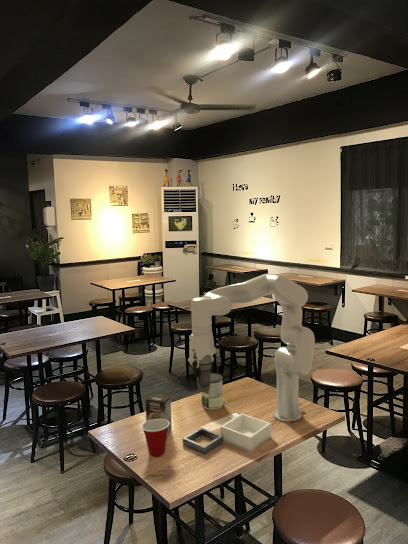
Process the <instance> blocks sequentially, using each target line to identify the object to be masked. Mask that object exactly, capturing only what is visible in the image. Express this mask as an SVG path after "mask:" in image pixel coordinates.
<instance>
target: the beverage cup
mask: <svg viewBox="0 0 408 544" xmlns="http://www.w3.org/2000/svg"><path fill="white" fill-rule="evenodd" d="M196 359H197V357H196ZM196 364H197V361H196ZM211 365H212V359H211V356H210V355H206V356H205V357H204V358H203V359H202V360H200V365H199V367H200V375H201V377H200V378H198V377H195V378H196V385H197V386H196V387H197V391H198V393H202V392H208V391H209V390H210V375H211V373H212V372H211Z"/></svg>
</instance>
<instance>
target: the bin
mask: <svg viewBox="0 0 408 544" xmlns="http://www.w3.org/2000/svg"><path fill="white" fill-rule="evenodd" d="M220 435H222V436H223V443H226V444H229V445H231V446H234V447H237V448H239V449H240V450H244V451H246V452H249V453H252V452H253V451H255V450H256V449H257V448H258V447H260V446H262V445H263V444H264V443H266V442H267V441H268V440H270V439H272V423H271V422H268V421H266V420H263V419H259V418H256V417H254V416H250V415H247V414H245V413H240V414H238V415H237V416H235V417H233V418H232V419H231V420H229V421H227V422H225V423H224V424H222V425H221V426H220Z"/></svg>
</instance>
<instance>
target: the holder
mask: <svg viewBox="0 0 408 544" xmlns="http://www.w3.org/2000/svg"><path fill="white" fill-rule="evenodd" d="M201 437H203V438H206V439H209V440H210V442H208V443H206V444H205V445H203V444H201V443H198V442H197V441H196V440H198V439H199V438H201ZM222 444H224V441H223V436H222V435H221V433H217V432H214V431H212V430H209V429H207V428H204V427H200V428H198V429H196V430H195V431H193V432H192V433H190V434H188V435H186V436H185V437H183V438H182V446H184V447H185V448H188V449H189V450H192V451H194V452H196V453H199V454H201V455H203V456H206V455H207V454H209V453H210V452H212V451H213V450H215V449H217V448H218V447H219V446H221V445H222Z"/></svg>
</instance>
